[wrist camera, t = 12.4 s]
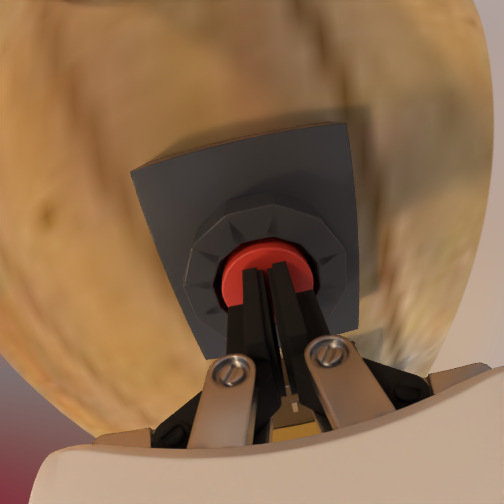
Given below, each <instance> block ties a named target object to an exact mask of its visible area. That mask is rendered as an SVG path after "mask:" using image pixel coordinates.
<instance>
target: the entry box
mask: <svg viewBox="0 0 504 504" xmlns="http://www.w3.org/2000/svg"><path fill="white" fill-rule="evenodd" d="M130 174H131V177H132V180H133V183H134V186H135V189H136V193H137V196H138V199H139V202H140V204H141V207H142V210H143V213H144V216H145V219H146V222H147V224H148V227H149V230H150V233H151V235H152V238H153V241H154V243H155V246H156V249H157V251H158V254H159V256H160V259H161V261H162V264H163V266H164V269H165V271H166V274H167V276H168V278H169V281H170V283H171V286H172V288H173V290H174V293H175V295H176V297H177V300H178V302H179V304H180V306H181V309H182V311H183V313H184V315H185V317H186V320H187V322H188V324H189V326H190V328H191V330H192V332H193V335H194V337H195V339H196V341H197V343H198V345H199V347H200V349H201V351H202V353H203V355H204V357H205V359H206V360H208V359H215V358H220V357H222V356H225V355H226V346H227V321H228V306H227V304H226V303H225V301H224V298H223V295H222V276H223V264H224V259H225V257H226V256H227V255H229V254H230V253H231V252H232V251H233V250H234V249H236V248H237V247H238V246H239V245H240V244H241V243H245V242H249V241H254V240H259V239H263V238H268V237H276V238H280V239H283V240H287V241H290V242H294V243H297V244H298V245H299V246H300V248H301V249H302V251H303V253H304V256H305V258H306V260H307V262H308V264H309V267H310V269H311V272H312V275H313V283H314V284H313V291H314V293H315V296H316V298H317V301H318V303H319V306H320V308H321V311H322V313H323V316H324V319H325V321H326V324H327V326H328V329H329V332H330V334H335V335H336V334H340V333H344V332H348V331H351V330H355V329H358V323H359V246H358V226H357V211H356V198H355V187H354V177H353V169H352V160H351V153H350V145H349V139H348V132H347V126H346V123H341V122H324V123H316V124H309V125H302V126H296V127H290V128H284V129H278V130H273V131H267V132H262V133H257V134H252V135H248V136H243V137H238V138H234V139H230V140H226V141H221V142H217V143H213V144H209V145H206V146H202V147H198V148H194V149H191V150H187V151H184V152H180V153H177V154H174V155H170V156H167V157H164V158H161V159H158V160H155V161H151V162H148V163H146V164H144V165H142V166H140V167H138V168H136V169H134V170H132V171H131V172H130ZM275 326H276V332H277V338H278V344H279V348H280V347H281V344H280V339H279V334H278V329H277V323H275Z"/></svg>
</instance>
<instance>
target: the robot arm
mask: <svg viewBox="0 0 504 504" xmlns="http://www.w3.org/2000/svg"><path fill="white" fill-rule="evenodd" d="M267 272H268V277H269V283H270V289H271V294H272V300H273V306H274V311H275V317H276V323H277V329H278V334H279V339H280V344H281V349H282V353H283V358H284V362H285V367H286V371H287V376H288V381H289V385H290V390H291V394H292V395H295V394H298V397H299V402H300V404H301V405H303V406H305V407H307V408H309V409H311V411H312V415H313V417H314V420H315V422H316V424H317V427H318V429H319V431H320V434H316V435H312V436H307V437H302V438H297V439H291V440H285V441H279V442H273V443H272V436H273V423H274V420H273V415H274V414H275V413H276V412H277V411H278V410H279V409H280V408H281V406H282V400H281V397H285V396H287V394H286V387H285V381H284V375H283V369H282V362H281V356H280V350H279V344H278V338H277V332H276V326H275V322H274V317H273V313H272V308H271V304H270V300H269V295H268V291H267V286H266V282H265V278H264V273H263V270H258V271H257V268H256V267H254V268H249V269H245V270H242V281H243V304H239V305H234V306H229V307H228V321H227V346H226V355H225V356H222V357H220V358H219V359H217V360H216V361H214V362H213V364H212V365H211V366H210V368H209V370H208V372H207V375H206V379H205V383H204V386H203V390H202V391H201V392H199V393H198V394H197V395H196V396H195V397H193V398H192V399H191V400H190V401H189V402H187V403H186V404H185V405H184V406H182V407H181V408H180V409H179V410H178V411H176V412H175V413H174V414H173V415H171V416H170V417H169V418H167V419H166V420H165V421H164V422H162V423H161V424H160V425H159V426H158V427H157V428H156V429H154V430H152V429H151V428H150V427H149V428H144V429H138V430H132V431H126V432H119V433H112V434H105V435H101V436H99V437H98V438H96V439H95V440H94V442H93V443H92V444H86V445H77V446H71V447H67V448H63V449H60V450H57V451H55V452H53V453H51V454H50V455H49V456H47V458H46V459H45V460H44V462H43V463H42V465H41V467H40V469H39V472H38V474H37V477H36V479H35V483H34V485H33V489H32V493H31V496H30V500H29V504H504V366H501V367H497V368H494V369H492V368H490V367H489V366H488V365H487V364H483V363H474V364H470V365H466V366H462V367H459V368H454V369H450V370H446V371H441V372H437V373H432V374H428V377H426V378H421V377H419V376H417V375H414V374H411V373H408V372H405V371H401V370H398V369H395V368H392V367H389V366H386V365H383V364H380V363H377V362H374V361H371V360H368V359H365V358H362V357H361V356H360V355H359V353H358V352H357V350H356V349H355V347H354V346H353V344H352V343H351V342H350V341H349V340H348V339H347V338H345V337H343V336H340V335H335V334H330V332H329V329H328V326H327V324H326V321H325V319H324V316H323V313H322V311H321V308H320V306H319V303H318V301H317V298H316V296H315V293H314V291H313V289H311V290H306V291H302V292H297V293H295V290H294V286H293V283H292V280H291V277H290V273H289V270H288V267H287V264H286V261H282V262H278V263H273V264H272V268H267Z"/></svg>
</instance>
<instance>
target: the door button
mask: <svg viewBox="0 0 504 504" xmlns="http://www.w3.org/2000/svg"><path fill="white" fill-rule="evenodd" d="M282 261H286V264H287V267H288V270H289V273H290V277H291V280H292V283H293V286H294V290H295V293H297V292H302V291H306V290H311V289H313V284H314V283H313V275H312V272H311V269H310V267H309V264H308V262H307V260H306V258H305V256H304V253H303V251H302V249H301V248H300V246H299V245H298V244H297V243H294V242H290V241H287V240H283V239H280V238H276V237H268V238H263V239H259V240H254V241H249V242H245V243H241V244H240V245H239V246H238V247H237V248H236V249H234V250H233V251H232V252H231V253H230V254H229V255H227V256H226V257H225V259H224V264H223V276H222V295H223V298H224V301H225V303H226V304H227V306H228V307H229V306H234V305H239V304H243V281H242V270H245V269H249V268H254V267H256V268H257V271H258V270H263V273H264V278H265V282H266V286H267V291H268V295H269V300H270V304H271V308H272V313H273V317H274V322H275V323H276V317H275V311H274V306H273V300H272V294H271V289H270V283H269V277H268V272H267V268H272V264H273V263H278V262H282Z"/></svg>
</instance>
